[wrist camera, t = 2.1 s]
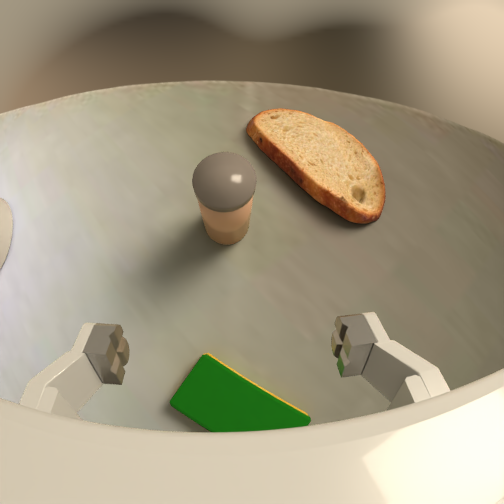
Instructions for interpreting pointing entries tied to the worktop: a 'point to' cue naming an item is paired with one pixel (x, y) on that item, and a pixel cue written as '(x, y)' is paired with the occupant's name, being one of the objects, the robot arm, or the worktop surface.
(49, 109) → the worktop surface
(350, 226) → the worktop surface
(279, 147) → the slice of bread
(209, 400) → the dish sponge
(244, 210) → the grey-capped jar
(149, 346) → the worktop surface
